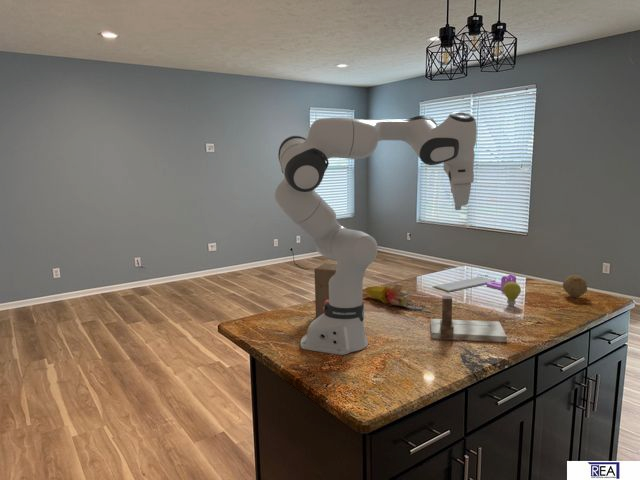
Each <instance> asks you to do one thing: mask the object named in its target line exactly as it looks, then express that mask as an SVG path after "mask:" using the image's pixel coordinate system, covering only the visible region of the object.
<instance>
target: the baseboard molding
mask: <svg viewBox="0 0 640 480" xmlns="http://www.w3.org/2000/svg"><path fill="white" fill-rule="evenodd" d="M487 282H496V279H495V278H493V277H492V278H491V277H489V275H486V274H485V275H483V274H482V275H481V276H476V277H473V278H468V279H467V278H466V279H462V280H457V281H452V282H448V283H443V284H438V285H433V286H432V288H434V289H437V290H440V291H443V292H447V293H451V292H455V291H461V290H464V289H465V290H466V289H469V288H474V287H480V286H484V285H487Z"/></svg>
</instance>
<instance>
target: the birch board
mask: <svg viewBox="0 0 640 480" xmlns="http://www.w3.org/2000/svg"><path fill="white" fill-rule="evenodd" d="M440 320H442V318H430V334H431V336H430V337H431V339H441V331H440ZM452 322H453V326H454V334H453V340H461V341H463V340H464V341H474V342H475V341H477V342H479V341H480V342H495V343H497V342H498V343H507V334H506V332H505V330H504V328H503V326H502V324H501V322H500V321H494V320H492V321H491V320H490V321H489V320H474V319H473V320H469V319H468V320H467V319H466V320H465V319H452ZM441 340H442V339H441Z"/></svg>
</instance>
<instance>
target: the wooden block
mask: <svg viewBox="0 0 640 480" xmlns="http://www.w3.org/2000/svg"><path fill="white" fill-rule="evenodd" d="M336 269H337V263H323V264H321V265H319V266H317V267H316V268H314V270H313V271H314V299H315V301H314V302H315V304H314V305H315V319H316V318H318V317H319V316H320V315H322V314H323V313H324V312H323V305H324V302H325V301H326V300H329V280H330V278H331V277H332V276H333V275H335V273H336Z"/></svg>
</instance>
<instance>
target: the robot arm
mask: <svg viewBox="0 0 640 480" xmlns="http://www.w3.org/2000/svg"><path fill="white" fill-rule="evenodd" d="M477 127H478V126H477V120H476V118H474V116H472V115H471V114H470V113H468V112H464V111H463V112H462V111H453V112H451V113H449V114H448V116H447V117H446V118H445V120H444V121H443V122H442V123H440V124H439V125H438V124H437V122H436V120H434V119H433V117H431V116H429V115H422V114H421V115H417V116H413V117H410V118H405V119H404V118H401V119H397V118H368V119H363V118H362V119H361V118H360V119H359V118H350V117H326V118H325V117H324V118H319V119H316V120H314V121H313V122H312V124H311V125H310V127H309V130H308V136H307V138H305V137H304V136H300V135H292V136H289V137H287V138H285V139H284V140H283V141H282V142H281V143H280V146H279V147H278V161H279V165H280V170H281V172H282V174H283V175H284V177H283V180H282V181H281V182H280V183H279V184H278V185H277V187H276V189H275V192H274V198H275V202H276V203H277V204H278V205H279V207H280V208H281V209H282V211H283V212H284V213H285V214H286V216H287V217H288V218H289V219H291V220H292V221H293V223H294V224H295V225H297V226H298V228H300V229H301V230H302V231H303V232H304V233H305V234H306V235H307V236H308V237H309V238H310V239H311V240H312V242H313V243H314V244H313V245H314V248H315V250H316V251H317V253H318V254H320V255H321V256H323V257H324V258H326V259H329V260H332V261H335V262H337V263H336V264H337V269H336V273H335V275H333V276H332V277H331V278H330V280H329V300H326V301H325V302H324V305H323V312H324V313H323V314H322V315H320V316H319V317H318V318H316V317H315V319H314V320H313V321H311V323H310V324H309V326H308V329H307V333H306V334H304V335H303V336H302V338H301V340H300V348H301V349H303V350H307V351H314V352H320V353H326V354H334V355H339V356H345V355H347V354H349V353H354V352H358V351H360V350H361V351H362V350H363V349H366V347H367V346H368V344H369V342H368V339H367V336H366V330H365V323H364V320H365V305H364V304H365V303H364V301H363V291H364V290H363V283H364V277H365V274H366V271H367V269H368V267H369V266H370V264H372V263H373V262H374V260H375V259H376V257H377V256H378V251H379V250H378V242H377V240H376V238H374V237H373V236H372V235H370V234H368V233H366V232H364V231H362V230H356V229H350V228H347V227H345V226H342V225H341V224H340V223H339V222H338V220H337V213H336V211H335V210H334V209H333V208H332V206H330V205H329V204H328V203H327V202H326V201H325V200H324V199H323V198H322V197H321V196H320V195H319V194H318V192H316V189H317V188H318V187H319V186H320V185H321V183H322V182H323V178H324V176H325V174H326V173H325V172H326V171H327V169H328V167H329V164H330V162H329V159H330V158H331V159H332V158H334V159H335V158H339V159H340V158H341V159H350V160H360V159H366V158H368V157H370V156H371V155H372V154H373V153H374V152H375V150H376V149H377V146H378V143H379V142H380V141H402V142H404V143H406V144H408V145H409V146H410V147H411V148H412V150H413V151H414V152H415V154H416V155H417V156H418V159H420V161H421V162H422V163H423V164H425V165H428V166H436V165H437V166H438V165H440V164H443V171H444V172H445V173H446V175H447V176H448V181H449V186H450V192H451V195H452V197H453V202H454V210H455V211H461V210H462V207H463V206H467V205H468V204H469V199H470V195H471V190H472V189H471V187H472V183H474V179H475V178H474V177H475V176H474V166H475V163H474V162H475V155H476V154H475V147H476V143H477V134H478V133H477V132H478V131H477Z"/></svg>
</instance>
